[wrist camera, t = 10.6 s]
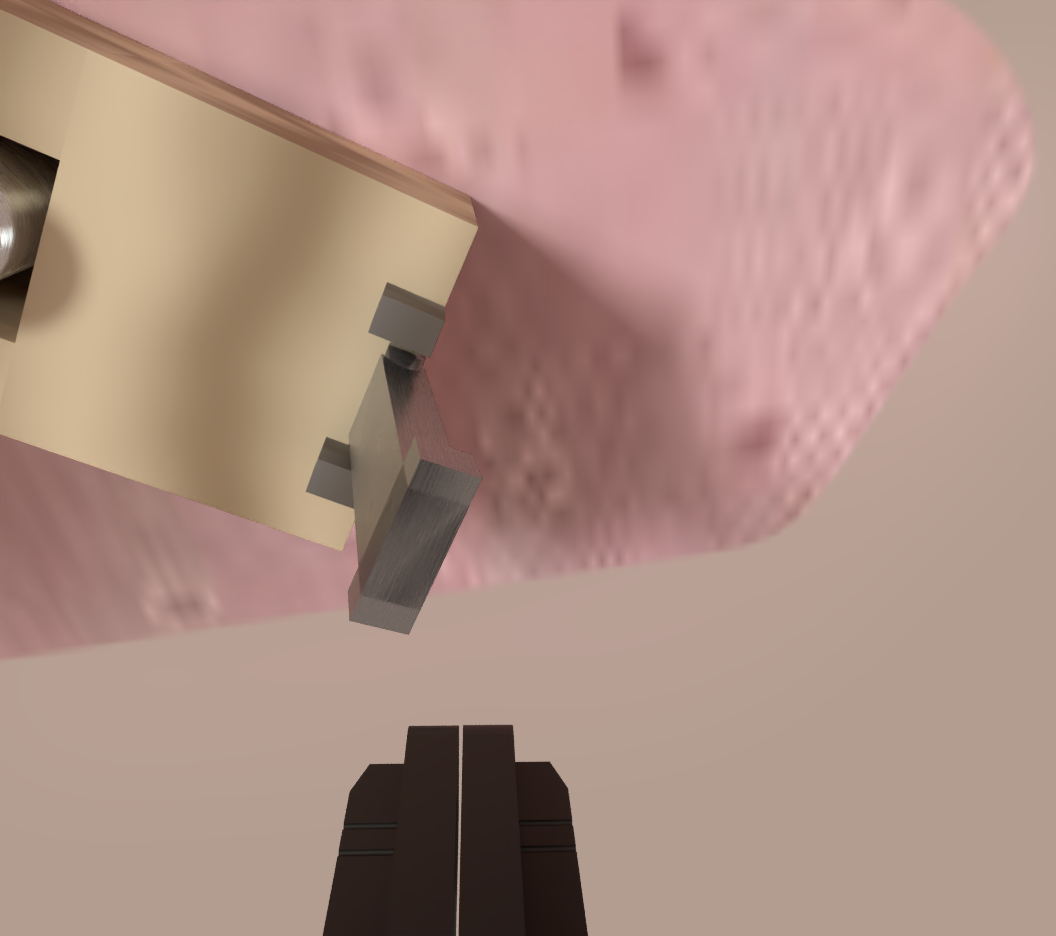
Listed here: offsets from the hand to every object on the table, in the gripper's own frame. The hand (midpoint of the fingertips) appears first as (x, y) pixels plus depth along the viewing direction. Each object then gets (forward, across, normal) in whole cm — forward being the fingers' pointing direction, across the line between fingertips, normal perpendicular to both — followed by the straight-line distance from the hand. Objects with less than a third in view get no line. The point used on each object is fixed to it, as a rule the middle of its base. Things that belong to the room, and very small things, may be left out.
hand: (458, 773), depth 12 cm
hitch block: (+20, +9, -5) cm, 23 cm away
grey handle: (+8, +2, -2) cm, 9 cm away
